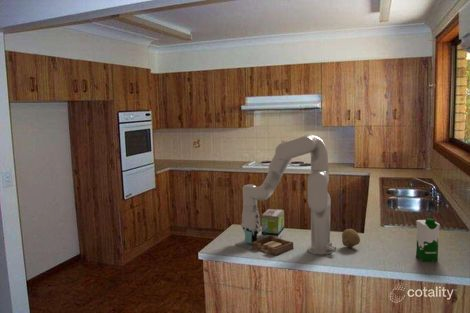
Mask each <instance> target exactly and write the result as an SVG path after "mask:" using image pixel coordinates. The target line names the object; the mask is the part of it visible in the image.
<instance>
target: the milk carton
mask: <svg viewBox="0 0 470 313" xmlns="http://www.w3.org/2000/svg"><path fill="white" fill-rule="evenodd" d="M415 222H416V254H415V257H417V258H418V259H419V260H421V262H438V261H439V234H440V233H439V232H440V226H441V224H440V223H438V222H437V221H436V219H435V218H433V217H426V218H425V219H417V220H416V221H415Z"/></svg>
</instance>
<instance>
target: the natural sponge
mask: <svg viewBox="0 0 470 313" xmlns="http://www.w3.org/2000/svg"><path fill="white" fill-rule="evenodd" d="M341 239H342V240H341V241H342V245H343V246H345V247H347V248H348V249H350V248H353V247H354V246H357V245H359V244H360V243H361V238H360V236H359V234H358V232H357V231H356V230H355V229H353V228H347V229H345V230H344V231H343V232H342V233H341Z"/></svg>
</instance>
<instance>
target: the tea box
mask: <svg viewBox="0 0 470 313" xmlns="http://www.w3.org/2000/svg"><path fill="white" fill-rule="evenodd" d="M283 234H284V235H285V210H284V209H276V208H275V209H272V208H268V209H266V210H265V212H263V213H262V214H261V239H263V238H265V237H268V236H273V237H276V238H280V239H282V237H283V236H284V235H283Z"/></svg>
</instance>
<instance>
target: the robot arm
mask: <svg viewBox="0 0 470 313" xmlns="http://www.w3.org/2000/svg"><path fill="white" fill-rule="evenodd" d="M274 152H275V153H274V155H273V157H272V159H271V161H270V163H269V164H268V172H267V174H266V177H265V178H264V180H263V182H262V184H261V185H259V186H256V185H255V184H244V185H243V187H242V205H243V206H242V214H241V224H240V227H241V228H242V230H243V233H244V234H245V231H246V230H249V229H252V233H253V235H252V242H254V241H257V240H258V234H259V232H262V227H261V216H260V213H259V212H260V211H259V207H258V201H266V200H268V199H269V198H270V197H271V196H272V195H273V193H274V192H275V190H276V188H277V186H278V185H279V183H280V181H281V179H282V177H283V176H284V174H285V171H286V169H287V168H288V166H289V164H290V162H291V161H292V159H294V158H297V157H300V156H304V155H306V154H310V174H309V176H308V177H307V184H306V185H307V204H308V207H309V209H310V245H309V246H308V248H307V250H308V253H311V254H312V255H313V254H314V255H319V256H321V255H322V256H324V255H325V256H326V255H331V254H333V253H336V250H337V246H333V243H332V242H331V207H332V206H331V204H332V199H331V196H330V193H329V192H328V188H329V187H328V185H329V182H330V174H329V156H328V154H329V152H328V148H327V146H326V144H325V142H324V141H323V139H321V138H320V137H319V136H317V135H315V134H310V133H309V134H308V133H307V134H304V135H303V136H300V137H297V138H295V139H291V140H289V141H284V142H281V143H279V144H277V146H276V148H275V151H274ZM254 230H255V232H254Z"/></svg>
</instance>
